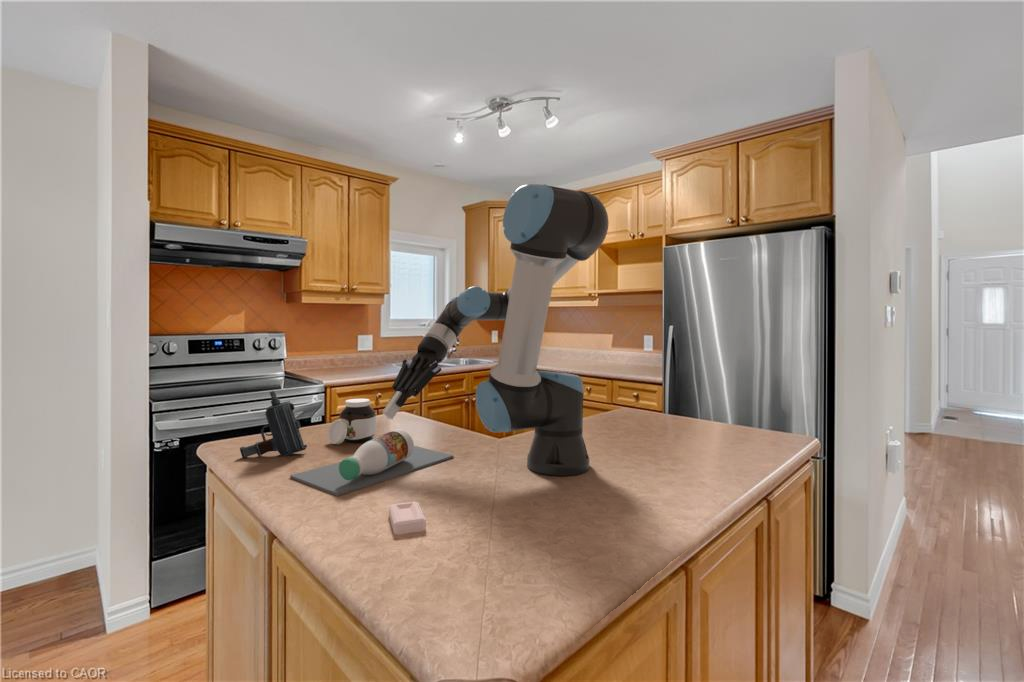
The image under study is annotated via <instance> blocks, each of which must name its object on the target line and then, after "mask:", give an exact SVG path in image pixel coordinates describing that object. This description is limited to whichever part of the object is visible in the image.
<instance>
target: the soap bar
mask: <svg viewBox="0 0 1024 682" xmlns="http://www.w3.org/2000/svg"><path fill="white" fill-rule="evenodd" d="M388 516H389V520H390V523H391V528H392V531H393V534H394V535H395V536H396V535H397V536H399V535H405V534H406V535H407V534H413V533H418V532H419V533H421V532H424V531H426V530H427V519H426V517H425V515H424V512H423V510H422V508H421V506H420V504H419V502H418V501H408V502H402V503H401V502H400V503H393V504H390V505H389V506H388Z"/></svg>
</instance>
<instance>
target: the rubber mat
mask: <svg viewBox="0 0 1024 682" xmlns="http://www.w3.org/2000/svg"><path fill="white" fill-rule="evenodd" d="M453 458H455V456H454V455H453V454H449V453H446V452H442V451H436V450H433V449H429V448H425V447H421V446H417V445H414V448H413V452H412V454H411V455H410V456H409V457H408V458H407V459H405V460H403V461H401V462H399V463H397V464H396V465H394V466H392V467H390V468H388V469H386V470H384V471H382V472H380V473H377V474H374V475H364V474H360V475H359V476H358V477H356V478H354V479H352V480H346V479H344V478H343V477H342V476H341V475H340V472H339V464H340V462H341V461H338V462H334V463H331V464H328V465H323V466H318V467H316V468H312V469H308V470H305V471H301V472H297V473H294V474H291V475H289V476H290V477H289V478H290V479H292V480H295V481H297V482H300V483H303V484H305V485H307V486H310V487H313V488H315V489H318V490H320V491H323V492H326V493H329V494H330V495H333V496H336V497H339V496H343V495H345V494H349V493H352V492H354V491H357V490H360V489H363V488H367V487H369V486H372V485H374V484H375V485H376V484H378V483H382V482H384V481H387V480H388V481H389V480H391V479H393V478H396V477H399V476H402V475H403V476H404V475H406V474H408V473H412V472H414V471H417V470H420V469H421V470H422V469H423V468H426V467H429V466H432V465H436V464H438V463H442V462H445V461H447V460H448V461H449V460H451V459H453Z"/></svg>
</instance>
